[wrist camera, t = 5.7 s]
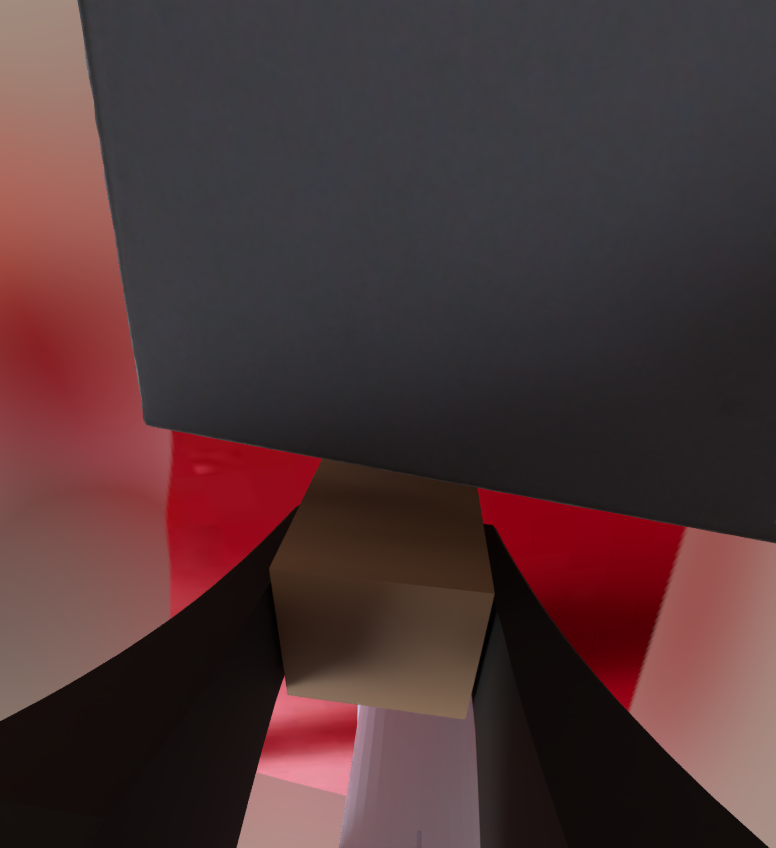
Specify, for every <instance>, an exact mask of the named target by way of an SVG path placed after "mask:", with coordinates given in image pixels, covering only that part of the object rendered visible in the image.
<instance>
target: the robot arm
mask: <svg viewBox="0 0 776 848" xmlns="http://www.w3.org/2000/svg"><path fill="white" fill-rule="evenodd" d="M299 506H300V505H298V506H297V507H295V508H294V509H293V510H292V511H291V512H290V514H289V515H288V516H287V517H286V518H285V519H284V520H283V521H282V522H281V523H280V524H279V525H278V526H277V527H276V528H275V529H274V530H273V531H272V532H271V533H270V534H269V535H268V536H267V537H266V538H265V539H264V540H263V541H262V542H261V543H260V544H259V545H258V546H257V547H256V548H255V549H254V550H253V551H252V552H250V553H249V554H248V555H247V556H246V557H245V558H244V559H243V560H242V561H241V562H240V563H239V564H238V565H236V566H235V567H234V568H233V569H232V570H231V571H230V572H228V573H227V574H226V575H225V576H224V577H223V578H222V579H220V580H219V581H218V582H217V583H216V584H215V585H213V586H212V587H211V588H210V589H209V590H207V591H206V592H205V593H204V594H202V595H201V596H200V597H199V598H197V599H196V600H195V601H194V602H192V603H191V604H190V605H188V606H187V607H186V608H184V609H183V610H182V611H180V612H179V613H178V614H177V615H175V616H174V617H172V618H171V619H170V620H168V621H167V622H165V623H164V624H163V625H161V626H160V627H159V628H157V629H156V630H154V631H153V632H151V633H150V634H148V635H147V636H146V637H144V638H143V639H141V640H139V641H138V642H136V643H135V644H133V645H132V646H130V647H129V648H128V649H126V650H124V651H123V652H121V653H120V654H118V655H117V656H115V657H113V658H112V659H110V660H108V661H107V662H105V663H103V664H102V665H100V666H98V667H97V668H95V669H94V670H92V671H90V672H89V673H87V674H85V675H84V676H82V677H80V678H78V679H77V680H75V681H73V682H72V683H70V684H68V685H66V686H65V687H63V688H61V689H59V690H58V691H56V692H54V693H52V694H51V695H49V696H47V697H45V698H43V699H41V700H40V701H38V702H36V703H34V704H32V705H30V706H28V707H27V708H24V709H23V710H21V711H19V712H17V713H15V714H13V715H11V716H9V717H8V718H6V719H4V720H2V721H0V848H236V847H237V844H238V839H239V836H240V832H241V828H242V824H243V820H244V816H245V812H246V808H247V804H248V800H249V797H250V793H251V789H252V785H253V782H254V778H255V774H256V770H257V767H258V763H259V759H260V756H261V752H262V748H263V744H264V741H265V737H266V734H267V730H268V727H269V723H270V720H271V716H272V713H273V709H274V705H275V702H276V699H277V696H278V693H279V690H280V687H281V684H282V681H283V678H284V675H285V673H284V666H283V660H282V653H281V646H280V639H279V632H278V626H277V619H276V612H275V605H274V598H273V591H272V585H271V578H270V571H269V568H270V566H271V564H272V562H273V559H274V557H275V555H276V553H277V551H278V549H279V547H280V545H281V543H282V541H283V539H284V537H285V535H286V533H287V531H288V529H289V527H290V524H291V522H292V520H293V518H294V516H295V514H296V512H297V510H298V508H299ZM483 526H484V532H485V538H486V544H487V550H488V556H489V562H490V568H491V574H492V580H493V586H494V592H495V595H494V599H493V603H492V608H491V612H490V616H489V621H488V625H487V629H486V633H485V638H484V642H483V646H482V651H481V655H480V659H479V663H478V668H477V672H476V676H475V681H474V685H473V689H472V693H471V698H470V702H469V706H468V711H467V715H466V719H465V720H464V719H457V718H450V717H443V716H436V715H428V714H421V713H414V712H407V711H399V710H392V709H385V708H378V707H371V706H363V705H358V724H357V731H356V738H355V744H354V751H353V757H352V764H351V771H350V777H349V784H348V790H347V797H346V804H345V810H344V817H343V824H342V830H341V837H340V843H339V848H769V847H768V846H766V845H765V844H764V843H763V842H762V841H761V840H760V839H759V838H758V837H756V836H755V835H754V834H753V833H752V832H751V831H750V830H749V829H748V828H747V827H746V826H744V825H743V824H742V823H741V822H740V821H739V820H738V819H736V817H734V816H733V815H732V814H731V813H730V812H729V811H728V810H727V809H726V808H725V807H723V806H722V805H721V804H720V803H719V802H718V801H716V799H714V798H713V797H712V796H711V795H710V794H709V793H708V792H707V791H706V790H705V789H704V788H703V787H702V786H701V785H700V784H699V783H698V782H697V781H696V780H695V779H693V777H692V776H691V775H689V774H688V773H687V772H686V771H685V770H684V769H683V768H682V767H681V766H680V765H679V764H678V763H677V762H676V761H675V760H674V759H673V758H672V757H671V756H670V755H669V754H668V753H667V752H666V751H665V750H664V749H663V748H662V747H661V746H660V745H659V744H658V743H657V742H656V741H655V739H654V738H653V737H652V736H651V735H650V734H649V733H648V732H647V731H646V730H645V729H644V728H643V727H642V726H641V725H640V724H639V723H638V721H637V720H635V718H634V717H633V716H632V715H631V714H630V713H629V712H628V711H627V710H626V709H625V708H624V707H623V706H622V705H621V704H620V702H619V701H618V700H617V699H616V698H615V697H614V696H613V695H612V693H611V692H610V691H609V690H608V689H607V688H606V686H605V685H604V684H603V683H602V682H601V681H600V680H599V678H598V677H597V676H596V675H595V674H594V673H593V671H592V670H591V669H590V668H589V666H588V665H587V664H586V663H585V662H584V660H583V659H582V658H581V657H580V656H579V654H578V653H577V652H576V651H575V649H574V648H573V647H572V645H571V644H570V643H569V642H568V640H567V639H566V638H565V636H564V635H563V634H562V632H561V631H560V630H559V628H558V627H557V625H556V624H555V623H554V621H553V620H552V619H551V617H550V616H549V614H548V613H547V612H546V610H545V609H544V607H543V606H542V604H541V603H540V601H539V600H538V599H537V597H536V595H535V594H534V592H533V591H532V589H531V588H530V586H529V585H528V583H527V582H526V580H525V579H524V577H523V575H522V574H521V572H520V571H519V569H518V567H517V566H516V564H515V562H514V561H513V559H512V557H511V555H510V554H509V552H508V550H507V548H506V547H505V545H504V543H503V541H502V539H501V537H500V536H499V534H498V532H497V530H496V528H495V527H494V526H493V525H488V524H483Z"/></svg>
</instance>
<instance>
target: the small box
mask: <svg viewBox="0 0 776 848" xmlns="http://www.w3.org/2000/svg"><path fill="white" fill-rule="evenodd" d="M78 6H79V12H80V18H81V23H82V29H83V36H84V44H85V54H86V63H87V69H88V74H89V80H90V85H91V90H92V94H93V99H94V106H95V121H96V125H97V129H98V134H99V138H100V146H101V154H102V159H103V164H104V176H105V183H106V189H107V195H108V200H109V205H110V210H111V215H112V220H113V226H114V231H115V239H116V246H117V253H118V261H119V267H120V274H121V279H122V284H123V291H124V298H125V304H126V311H127V317H128V323H129V329H130V336H131V342H132V347H133V353H134V358H135V363H136V370H137V376H138V383H139V390H140V395H141V401H142V409H143V419H144V421H145V424H146V425H149V426H152V427H157V428H163V429H169V430H173V431H178V432H184V433H190V434H195V435H200V436H205V437H210V438H215V439H221V440H226V441H231V442H236V443H242V444H247V445H252V446H258V447H263V448H268V449H274V450H279V451H284V452H290V453H295V454H301V455H306V456H312V457H317V458H323V459H328V460H332V461H336V462H342V463H348V464H354V465H360V466H365V467H370V468H375V469H380V470H384V471H390V472H395V473H401V474H407V475H413V476H418V477H424V478H429V479H434V480H439V481H444V482H449V483H455V484H461V485H467V486H472V487H477V488H483V489H487V490H492V491H497V492H503V493H509V494H514V495H521V496H526V497H530V498H536V499H541V500H546V501H551V502H556V503H561V504H567V505H572V506H578V507H583V508H589V509H595V510H601V511H606V512H612V513H618V514H623V515H628V516H633V517H638V518H643V519H648V520H653V521H658V522H663V523H669V524H675V525H680V526H686V527H692V528H697V529H702V530H707V531H712V532H717V533H723V534H730V535H736V536H740V537H745V538H751V539H756V540H761V541H767V542H772V543H776V0H78Z"/></svg>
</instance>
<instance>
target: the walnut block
mask: <svg viewBox="0 0 776 848" xmlns="http://www.w3.org/2000/svg"><path fill="white" fill-rule="evenodd" d="M269 571H270V578H271V585H272V591H273V598H274V605H275V612H276V619H277V626H278V632H279V639H280V646H281V653H282V660H283V666H284V673H285V680H286V687H287V694H288V695H291V696H298V697H306V698H313V699H320V700H327V701H334V702H342V703H349V704H356V705H363V706H371V707H378V708H385V709H392V710H399V711H407V712H414V713H421V714H428V715H436V716H443V717H450V718H457V719H464V720H465V719H466V715H467V711H468V706H469V702H470V698H471V693H472V689H473V685H474V681H475V676H476V672H477V668H478V663H479V659H480V655H481V651H482V646H483V642H484V638H485V633H486V629H487V625H488V621H489V616H490V612H491V608H492V603H493V599H494V595H495V592H494V586H493V580H492V574H491V568H490V562H489V556H488V550H487V544H486V538H485V532H484V526H483V520H482V514H481V508H480V502H479V495H478V489H477V487H472V486H467V485H461V484H455V483H449V482H444V481H439V480H434V479H429V478H424V477H418V476H413V475H407V474H401V473H395V472H390V471H384V470H380V469H375V468H370V467H365V466H360V465H354V464H348V463H342V462H336V461H332V460H328V459H323V458H322V461H321V463H320V465H319V467H318V469H317V471H316V473H315V475H314V477H313V479H312V481H311V483H310V485H309V487H308V489H307V491H306V494H305V496H304V498H303V500H302V502H301V504H300V506H299V508H298V510H297V512H296V514H295V516H294V518H293V520H292V522H291V524H290V527H289V529H288V531H287V533H286V535H285V537H284V539H283V541H282V543H281V545H280V547H279V549H278V551H277V553H276V555H275V557H274V559H273V562H272V564H271V566H270V568H269Z"/></svg>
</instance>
